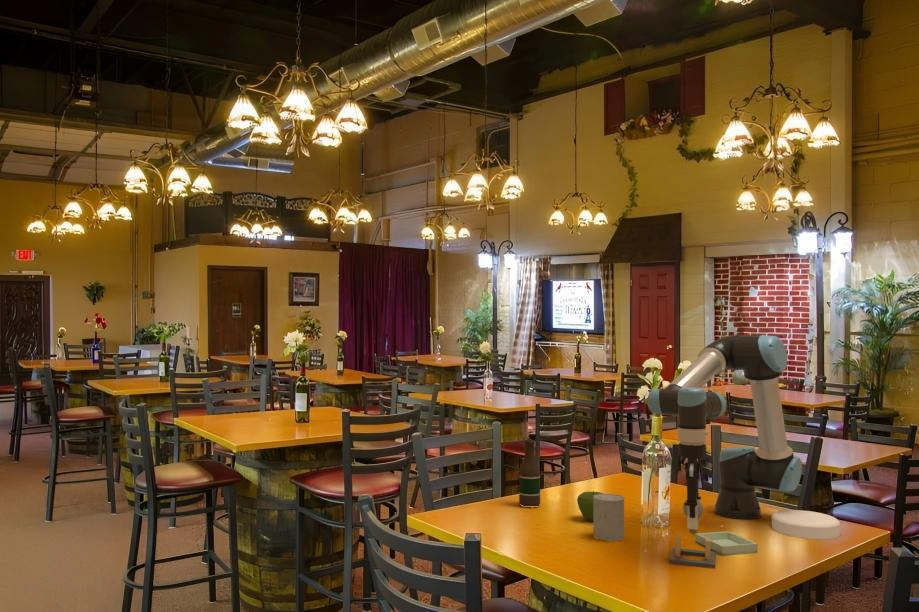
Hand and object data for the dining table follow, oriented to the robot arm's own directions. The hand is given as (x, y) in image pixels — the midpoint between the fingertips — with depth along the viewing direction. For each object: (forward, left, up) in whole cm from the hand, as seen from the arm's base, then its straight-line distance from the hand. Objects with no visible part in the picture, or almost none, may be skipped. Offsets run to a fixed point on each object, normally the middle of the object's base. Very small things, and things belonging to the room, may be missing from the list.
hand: (693, 525), depth 205 cm
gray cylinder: (-26, -13, -10) cm, 31 cm away
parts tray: (-8, +16, -9) cm, 20 cm away
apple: (-46, -9, -10) cm, 48 cm away
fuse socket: (0, 0, -9) cm, 9 cm away
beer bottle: (-70, -23, -9) cm, 74 cm away
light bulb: (0, 0, -3) cm, 3 cm away
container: (-18, +52, -10) cm, 56 cm away
